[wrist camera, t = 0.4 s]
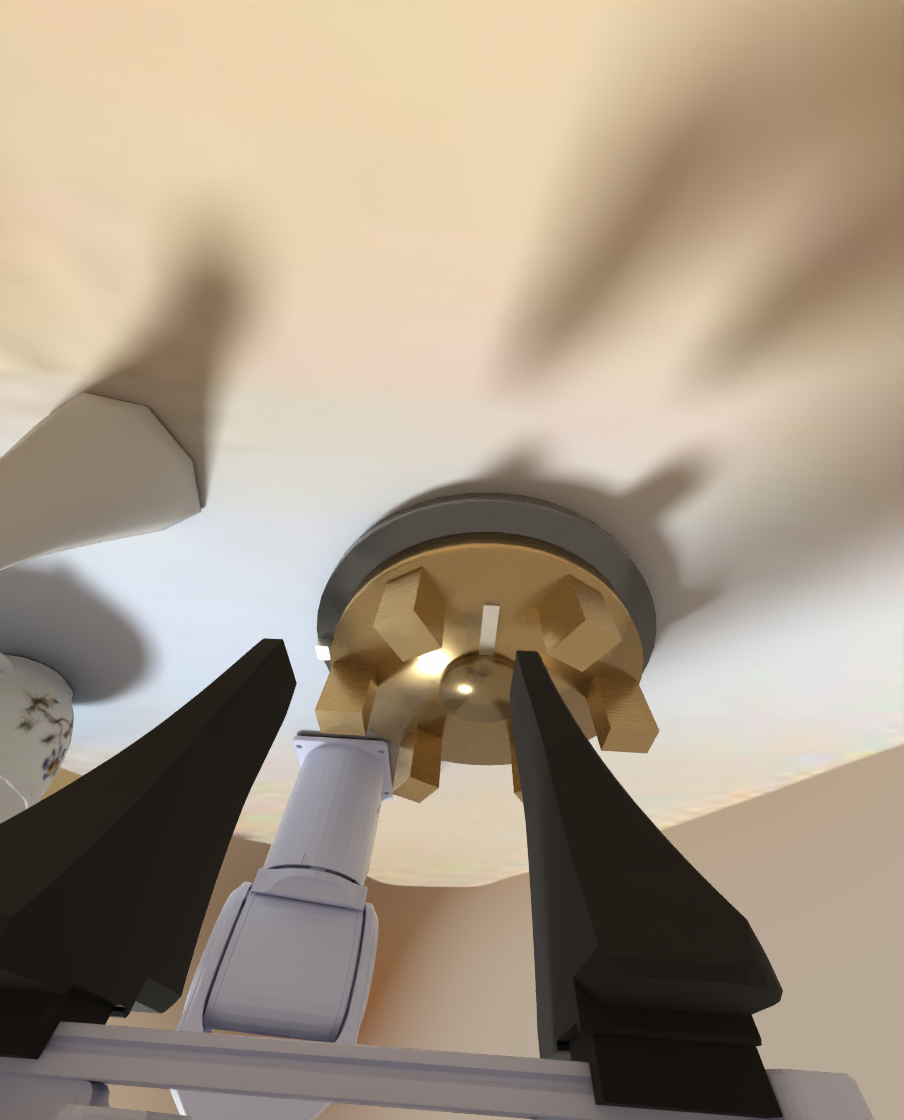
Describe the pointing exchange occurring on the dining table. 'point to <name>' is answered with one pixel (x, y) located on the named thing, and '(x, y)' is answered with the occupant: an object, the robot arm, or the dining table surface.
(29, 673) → the teacup
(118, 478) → the flask
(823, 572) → the dining table surface
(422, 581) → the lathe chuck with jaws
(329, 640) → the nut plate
